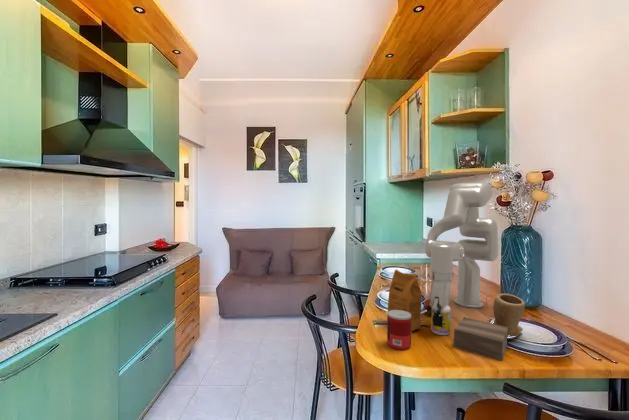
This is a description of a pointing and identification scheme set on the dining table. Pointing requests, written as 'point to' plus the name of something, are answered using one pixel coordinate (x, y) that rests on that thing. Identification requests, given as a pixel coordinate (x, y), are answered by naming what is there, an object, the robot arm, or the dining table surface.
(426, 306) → the pomegranate
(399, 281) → the coffee package
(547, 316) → the dining table surface
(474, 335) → the block
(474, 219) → the robot arm
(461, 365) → the dining table surface
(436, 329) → the supplement bottle
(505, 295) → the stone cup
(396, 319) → the canned food
